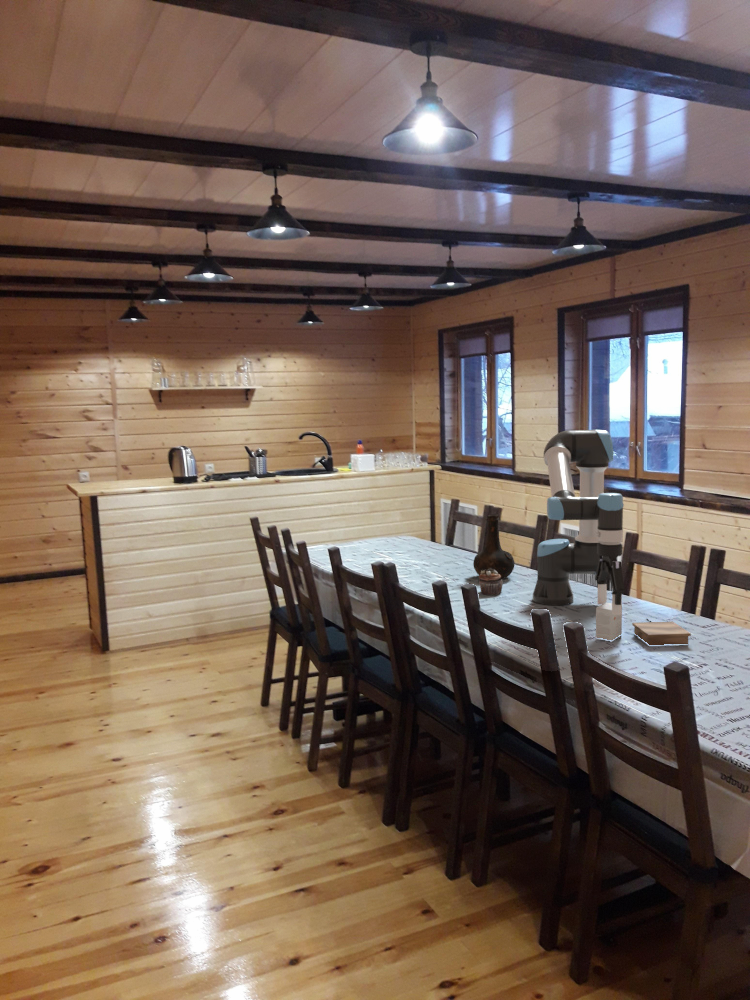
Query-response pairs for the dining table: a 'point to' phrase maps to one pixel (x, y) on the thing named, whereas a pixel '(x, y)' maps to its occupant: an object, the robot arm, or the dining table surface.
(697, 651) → the dining table surface
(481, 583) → the cupcake
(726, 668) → the dining table surface
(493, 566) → the glass bottle
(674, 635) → the stand
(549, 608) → the dining table surface
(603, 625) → the small box
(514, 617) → the dining table surface
